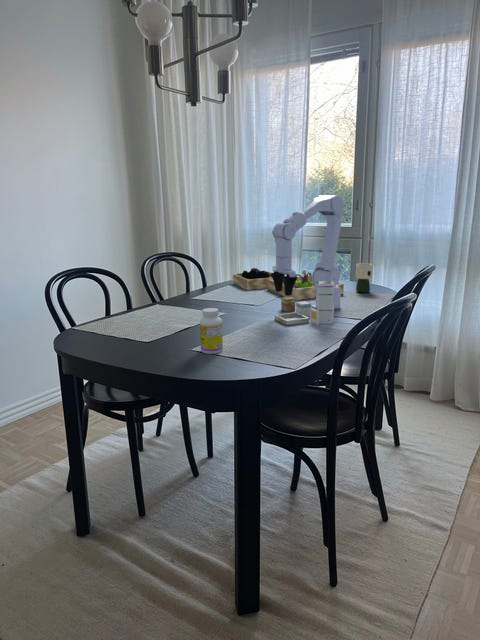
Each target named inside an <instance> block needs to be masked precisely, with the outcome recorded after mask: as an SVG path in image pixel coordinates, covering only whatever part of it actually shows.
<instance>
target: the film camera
mask: <svg viewBox="0 0 480 640" xmlns="http://www.w3.org/2000/svg"><path fill="white" fill-rule="evenodd" d="M265 271H266V270H260V269H259V268H256V267H253V268H251V269H250V270H249V271H247V270H243V271H242V272H241V273H242V277H243V278H246V279H248V280H250V279H261V278H269V277H270V276H269V275H270V274H269V273H267V272H265Z"/></svg>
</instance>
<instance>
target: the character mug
mask: <svg viewBox="0 0 480 640" xmlns="http://www.w3.org/2000/svg"><path fill="white" fill-rule="evenodd" d="M372 274H373V264H372V263H366V262H360V263H359V262H358V263H356V265H355V278H357V282H356V286H355V291H356V292H360V293H362V292H363V293H369V292H370V291H371V285H370V280H369V279H372V276H373V275H372Z"/></svg>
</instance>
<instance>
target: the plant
mask: <svg viewBox="0 0 480 640" xmlns="http://www.w3.org/2000/svg"><path fill="white" fill-rule="evenodd" d="M301 274H302V275H303V276H304V278H303V277H302V275H301ZM301 274H298V273H297V274H296V275H295V276H297V277H301V278H302V281H301V280H298V281H299V282H298V281H296V284H294V286H293V288H294V289H296V288H306V287H315V284H313V283H314V282H313V281H311V282H310V283H309V279H308V276H312V273H311V272H306V270H303V271H302V272H301Z"/></svg>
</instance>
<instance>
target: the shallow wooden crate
mask: <svg viewBox="0 0 480 640" xmlns="http://www.w3.org/2000/svg"><path fill="white" fill-rule="evenodd" d="M264 271H265V272H267V273H269V274H270V273H273V271H269V270H264ZM242 273H243V272H239V273H232V284H233V285H235V286H237V287H239V288H242V289H243V290H246V291H254V289H256V290H262V288H266V289H268V280H269V279H272V277H271V275H269V276H270V277H269V278H261V279H250V280H248V279H246V278H243V277H242Z"/></svg>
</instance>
